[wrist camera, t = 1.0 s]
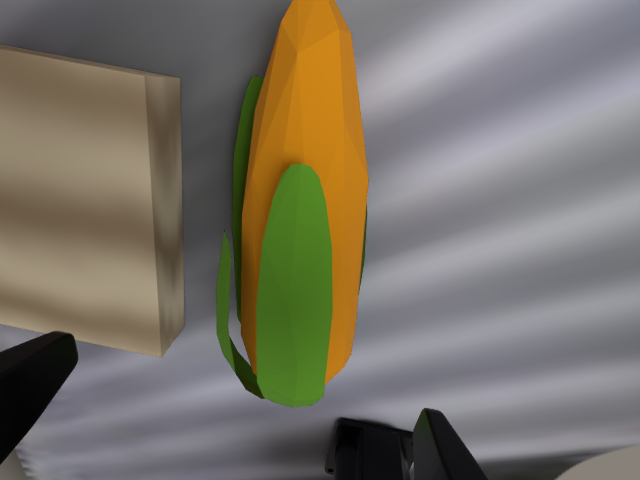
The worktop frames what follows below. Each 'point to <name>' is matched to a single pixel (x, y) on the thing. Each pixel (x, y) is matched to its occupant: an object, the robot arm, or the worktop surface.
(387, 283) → the worktop surface
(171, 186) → the birch base
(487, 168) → the worktop surface
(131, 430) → the worktop surface
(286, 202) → the corn
